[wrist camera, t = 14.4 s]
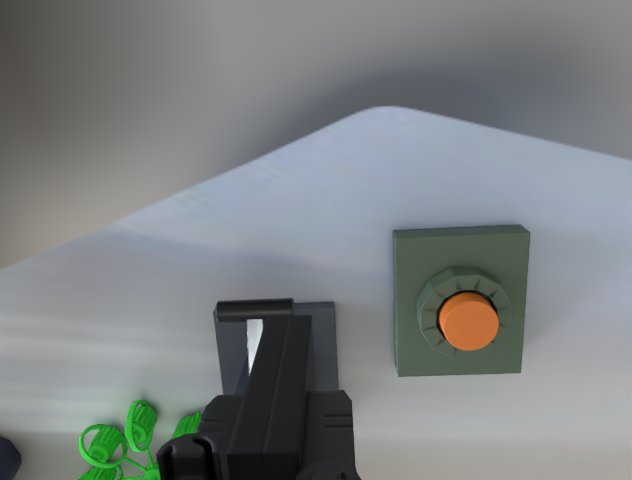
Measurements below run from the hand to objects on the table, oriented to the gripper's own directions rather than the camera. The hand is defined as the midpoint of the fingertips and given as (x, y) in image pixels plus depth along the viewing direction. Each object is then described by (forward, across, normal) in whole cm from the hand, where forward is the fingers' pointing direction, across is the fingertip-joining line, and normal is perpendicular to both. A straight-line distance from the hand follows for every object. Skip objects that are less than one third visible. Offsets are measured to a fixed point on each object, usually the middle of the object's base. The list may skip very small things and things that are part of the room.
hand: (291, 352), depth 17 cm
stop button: (+21, +11, -9) cm, 25 cm away
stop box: (+24, +11, -9) cm, 28 cm away
